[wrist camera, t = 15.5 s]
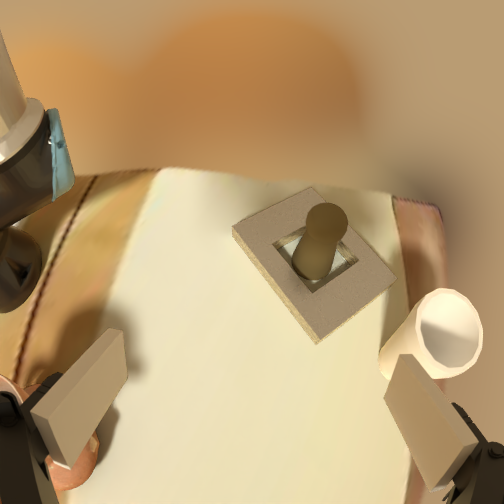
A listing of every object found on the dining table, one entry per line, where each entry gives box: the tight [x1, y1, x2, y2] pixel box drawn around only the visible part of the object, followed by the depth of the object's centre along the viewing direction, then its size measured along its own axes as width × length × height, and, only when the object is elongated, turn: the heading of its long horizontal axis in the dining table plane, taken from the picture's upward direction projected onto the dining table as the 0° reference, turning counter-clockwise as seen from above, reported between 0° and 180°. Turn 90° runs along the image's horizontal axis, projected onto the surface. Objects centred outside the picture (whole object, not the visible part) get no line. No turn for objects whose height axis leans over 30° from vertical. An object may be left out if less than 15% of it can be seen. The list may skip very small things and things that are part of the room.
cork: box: [292, 203, 348, 280], centre depth 40 cm, size 6×6×11 cm
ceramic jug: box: [0, 374, 100, 490], centre depth 23 cm, size 18×14×14 cm
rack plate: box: [232, 187, 397, 345], centre depth 43 cm, size 20×15×2 cm
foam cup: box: [378, 288, 483, 380], centre depth 31 cm, size 10×9×13 cm
